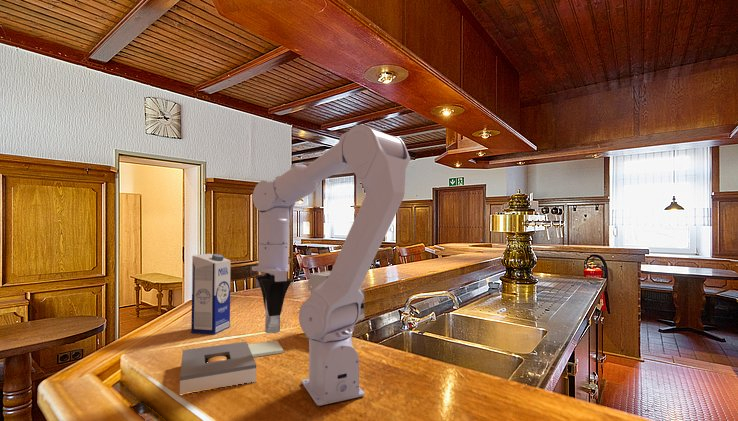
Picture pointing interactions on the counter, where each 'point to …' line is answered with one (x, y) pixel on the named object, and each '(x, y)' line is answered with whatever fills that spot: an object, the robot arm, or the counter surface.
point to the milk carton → (210, 293)
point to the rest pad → (265, 348)
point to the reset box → (216, 367)
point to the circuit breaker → (320, 278)
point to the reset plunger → (217, 358)
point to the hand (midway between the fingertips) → (272, 313)
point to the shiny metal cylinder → (271, 322)
